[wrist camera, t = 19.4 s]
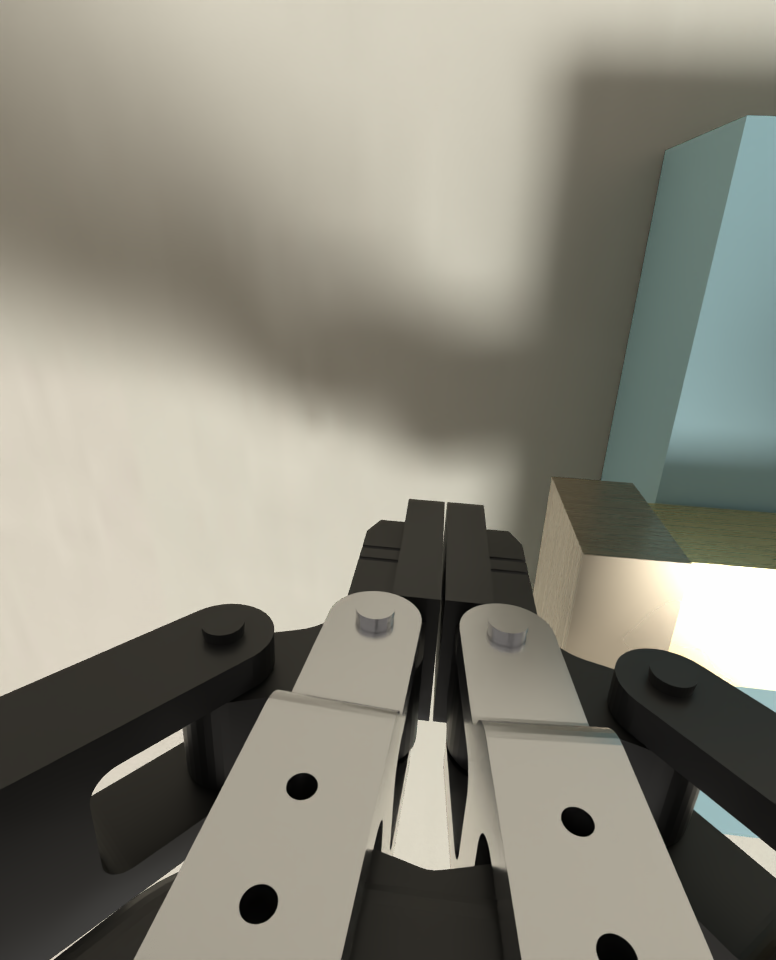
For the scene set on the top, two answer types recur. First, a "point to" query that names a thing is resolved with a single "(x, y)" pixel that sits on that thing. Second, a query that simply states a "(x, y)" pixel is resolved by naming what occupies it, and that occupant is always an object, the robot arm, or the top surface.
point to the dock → (706, 343)
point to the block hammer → (658, 580)
